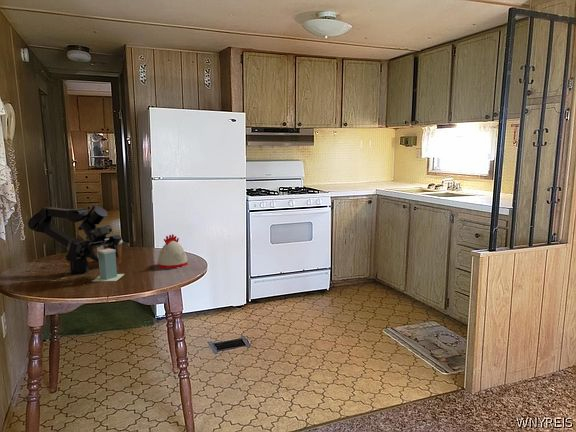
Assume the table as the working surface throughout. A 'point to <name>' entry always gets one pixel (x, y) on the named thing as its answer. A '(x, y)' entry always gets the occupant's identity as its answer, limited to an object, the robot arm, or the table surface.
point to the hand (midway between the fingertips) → (108, 259)
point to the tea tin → (107, 263)
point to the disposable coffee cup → (118, 260)
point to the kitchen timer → (172, 254)
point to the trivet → (108, 279)
